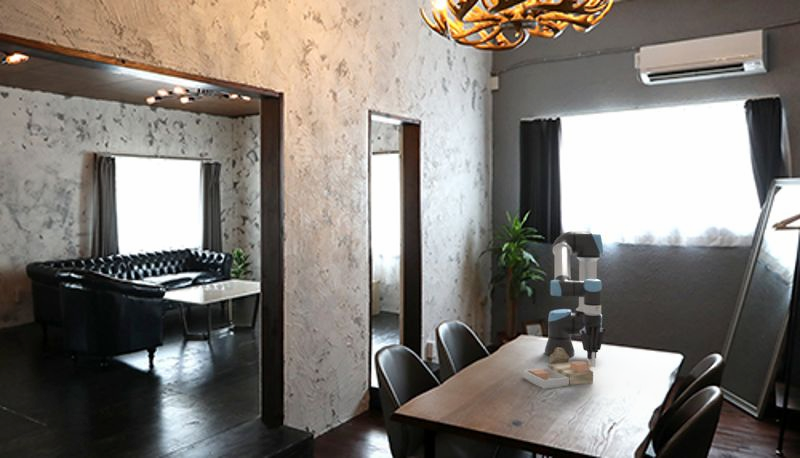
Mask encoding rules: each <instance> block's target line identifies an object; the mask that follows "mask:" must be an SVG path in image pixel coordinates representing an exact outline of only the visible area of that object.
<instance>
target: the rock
mask: <svg viewBox="0 0 800 458" xmlns="http://www.w3.org/2000/svg"><path fill="white" fill-rule="evenodd" d="M548 359H549V360H548V366H549V365H550V364H559V363H569V362H570V357H569V355H567V354H566V352H565V350H564V349H563V348H559V347H556V348H555V350H554V352H553V354H551V355H550V356H549V357H548Z"/></svg>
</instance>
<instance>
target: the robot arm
mask: <svg viewBox="0 0 800 458" xmlns="http://www.w3.org/2000/svg"><path fill="white" fill-rule="evenodd" d="M603 249H604V246H603V241H602V236H601V233H599V232H598V231H597V232H596V231H567V232H564V233H562V234H561V235H559V236H558V237H557V238H556V239H555V240H554V242H553V245H552V254H553V255H554V279H551V280H550V295H551V296H554V297H569V298H570V297H573V298H578V307H577V308H575V312H572V310H571V309H570V308H567V309H566V308H562V309H561V308H560V309H554V310H550V311H549V313H548V320H547V321H548V330H547V331H548V332H547V333H548V336H547V337H548V339H547V341H546V344H545V347H544V354H545V355H547V356H549V357H550V355H551V354H553V352H554V350H555V348H556V347H559V348H563V349H564V350H565V352H566V354H567V355H569V358H571V357H574V356H575V348H574V346H573V345H574V344H573V342H572V336H580V339H581V342H582V343H581V344H582V348H583V351H585V352H587V354H586V355H587V359H588V363H587V364H590V368H594V367H596V359H597V353H598V352H599V351H600V350H601V348H602V343H603V339H604V334H605V332H606V328H603V327H602V324H603V314H602V294H603V293H602V290H603V286H602V285H603V284H602V283H603V282H602V280H600V279H597V273H598V272H597V269H598V268H597V267H598V266H597V262H598V260H600V259H601V255H604V250H603ZM571 254H573V255H574V254H575V255H576V259H577V260H578V261H579V268H578V269H579V271H578V274H579V275H578V276H579V278H578V279H579V280H572V277H571V274H572V273H571Z"/></svg>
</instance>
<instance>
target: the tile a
mask: <svg viewBox="0 0 800 458" xmlns="http://www.w3.org/2000/svg"><path fill="white" fill-rule="evenodd" d="M537 369H538V370H533V369H529V370H530V373H531V374H533V375H535V376H537V377H539V378H541V379H543V380H548V379H549V373H548V372H546V371H544V370H542V368H537Z"/></svg>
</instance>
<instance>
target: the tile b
mask: <svg viewBox="0 0 800 458" xmlns="http://www.w3.org/2000/svg"><path fill="white" fill-rule="evenodd" d="M569 362H570V361H569ZM570 369H572V370H574V371H576V372H587V371H590V370H591V366H590V364H588V363H587V362H585V361H583V360H581V361H580V360H579V361H571V362H570Z"/></svg>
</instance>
